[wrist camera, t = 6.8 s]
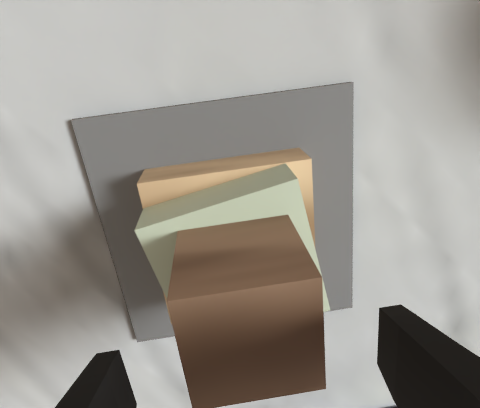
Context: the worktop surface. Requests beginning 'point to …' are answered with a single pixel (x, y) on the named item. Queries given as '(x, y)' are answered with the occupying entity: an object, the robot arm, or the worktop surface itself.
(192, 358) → the walnut block
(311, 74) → the worktop surface
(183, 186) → the oak slab
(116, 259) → the mat
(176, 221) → the sage slab
